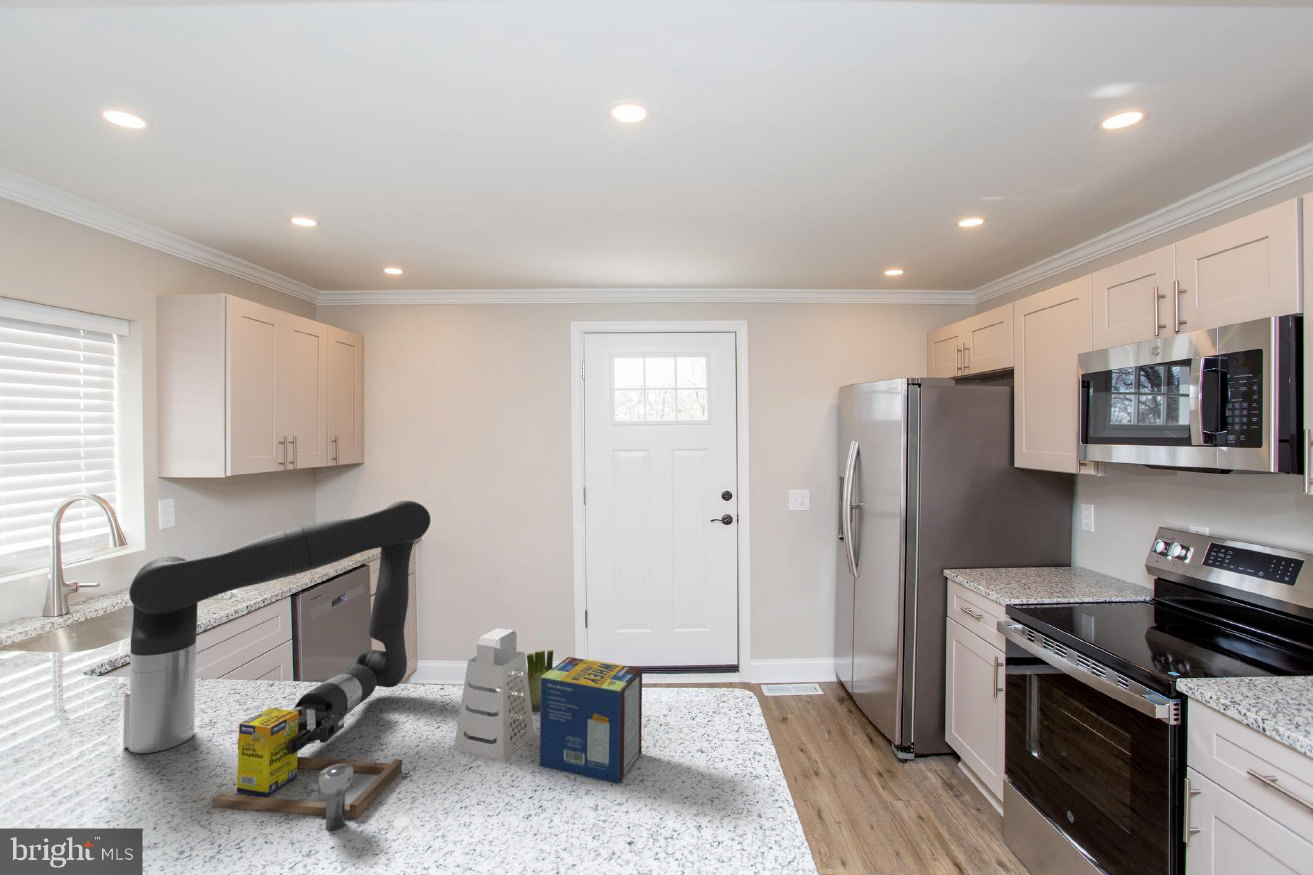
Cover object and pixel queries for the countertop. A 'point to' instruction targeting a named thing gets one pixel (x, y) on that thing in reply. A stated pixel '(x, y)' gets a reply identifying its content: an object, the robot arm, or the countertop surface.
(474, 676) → the grater
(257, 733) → the supplement box
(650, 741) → the countertop surface
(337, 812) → the grey bolt
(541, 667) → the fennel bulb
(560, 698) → the protein box
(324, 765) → the bay
